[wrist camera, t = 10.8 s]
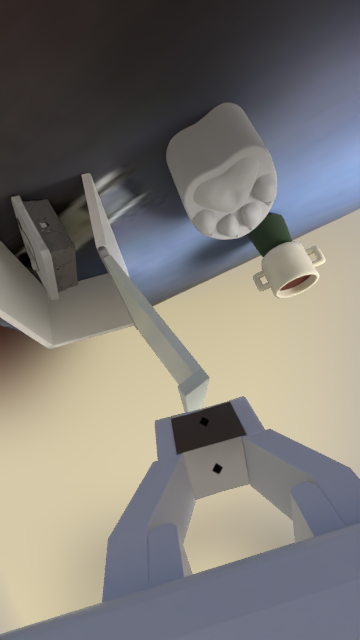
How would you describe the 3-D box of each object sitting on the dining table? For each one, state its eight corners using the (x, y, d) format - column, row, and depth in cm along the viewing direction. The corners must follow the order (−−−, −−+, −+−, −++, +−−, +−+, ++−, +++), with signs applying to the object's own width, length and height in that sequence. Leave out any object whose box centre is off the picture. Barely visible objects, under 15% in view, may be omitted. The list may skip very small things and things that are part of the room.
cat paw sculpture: (242, 88, 28) (277, 142, 25) (261, 178, 40) (288, 224, 36) (155, 147, 31) (176, 203, 28) (196, 216, 43) (215, 261, 39)
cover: (88, 267, 27) (110, 254, 27) (130, 337, 45) (143, 328, 45) (185, 396, 22) (209, 377, 22) (189, 417, 40) (202, 406, 40)
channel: (90, 172, 32) (107, 252, 27) (127, 271, 50) (142, 328, 46) (-46, 204, 31) (-51, 293, 26) (43, 293, 49) (49, 354, 45)
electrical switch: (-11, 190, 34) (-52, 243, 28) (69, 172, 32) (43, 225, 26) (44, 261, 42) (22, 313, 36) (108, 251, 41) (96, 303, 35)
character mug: (239, 249, 54) (266, 308, 49) (230, 229, 48) (260, 293, 42) (296, 220, 51) (331, 280, 46) (293, 194, 44) (334, 260, 39)
